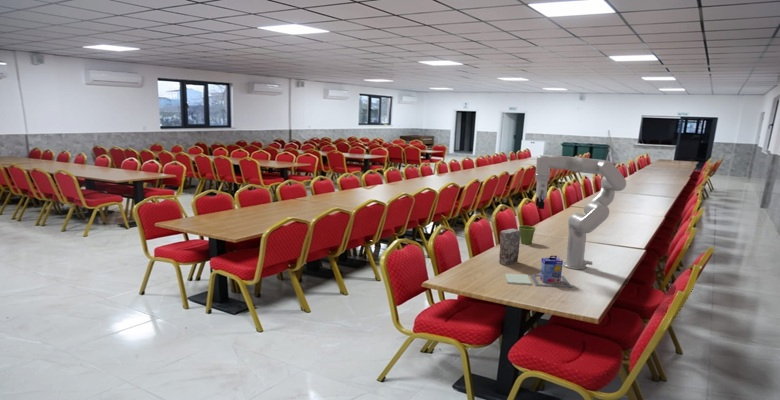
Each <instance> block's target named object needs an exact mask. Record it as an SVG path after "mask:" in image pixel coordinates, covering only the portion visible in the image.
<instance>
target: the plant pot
mask: <svg viewBox="0 0 780 400" xmlns="http://www.w3.org/2000/svg"><path fill="white" fill-rule="evenodd" d="M536 229H537V227H535V226H531V225H519V226H518V230H520V231H521V235H520V244H523V245H532V243H533V240H534V236H535V235H534V234H535V232H536Z"/></svg>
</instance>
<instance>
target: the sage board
mask: <svg viewBox="0 0 780 400" xmlns="http://www.w3.org/2000/svg"><path fill="white" fill-rule="evenodd" d="M504 277H505V279H506V282H507V284H510V285H511V284H512V285H527V286H532V283H533V282H532V281H531V279H530V277H529V275H528V274H523V273H522V274H521V273H504Z"/></svg>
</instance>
